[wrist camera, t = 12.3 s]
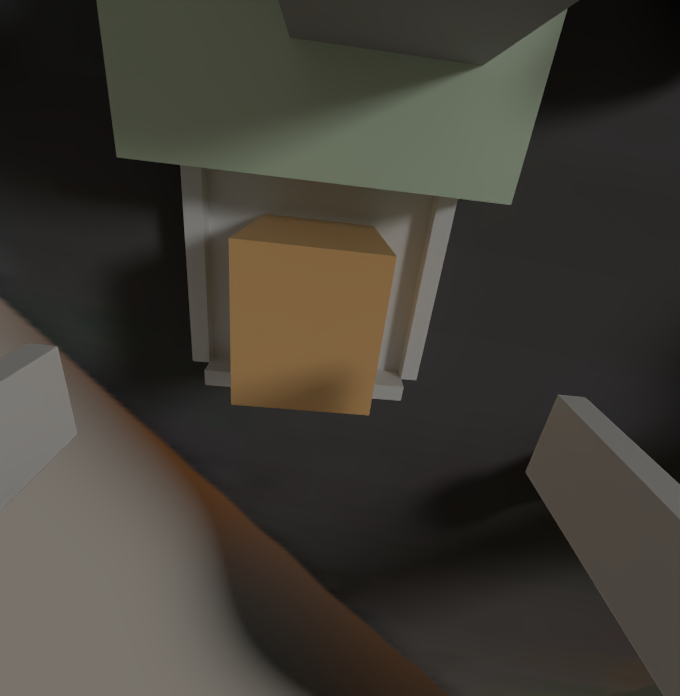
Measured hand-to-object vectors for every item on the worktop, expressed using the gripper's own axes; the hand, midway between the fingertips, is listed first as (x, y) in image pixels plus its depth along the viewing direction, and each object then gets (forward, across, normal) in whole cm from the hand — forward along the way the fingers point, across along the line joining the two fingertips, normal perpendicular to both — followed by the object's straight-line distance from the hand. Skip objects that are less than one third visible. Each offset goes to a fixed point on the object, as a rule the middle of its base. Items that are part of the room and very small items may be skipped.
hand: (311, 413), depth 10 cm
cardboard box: (+13, +1, 0) cm, 13 cm away
